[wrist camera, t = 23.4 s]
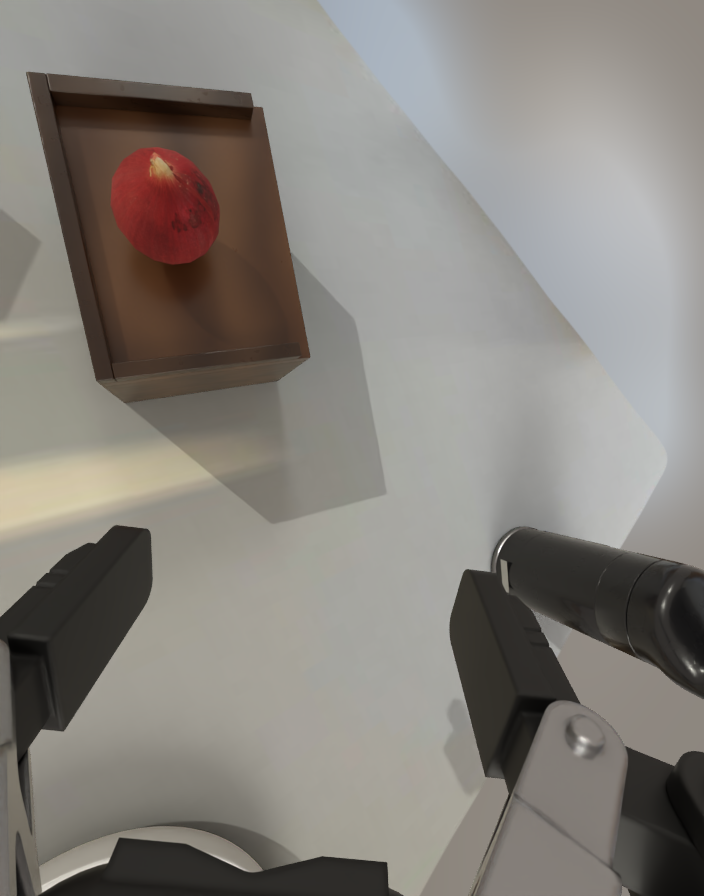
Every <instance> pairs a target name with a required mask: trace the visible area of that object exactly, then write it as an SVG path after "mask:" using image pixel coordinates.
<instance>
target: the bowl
mask: <svg viewBox="0 0 704 896" xmlns="http://www.w3.org/2000/svg"><path fill="white" fill-rule="evenodd" d="M119 837H120V838H131V839H142V840H152V841H163V842H174V843H185V844H188V845H190V846H192V847H194V848H197V849H199V850H201V851H203V852H205V853H207V854H210V855H212V856H214V857H216V858H218V859H220V860H222V861H225V862H227V863H229V864H231V865H233V866H235V867H237V868H240V869H242V870H244V871H247V872H260V871H263V869H262V868H261V867H260V866H259V865H258V863H257V862H256V861H255V860H254V859H253V858H252V857H250V856H249V855H248V854H247V853H246V852H245V851H243V850H242V849H241V848H239V847H238V846H236V845H235V844H233V843H231V842H230V841H228V840H226V839H224V838H222V837H220V836H217V835H215V834H212V833H209V832H206V831H202V830H198V829H193V828H186V827H176V826H155V827H144V828H137V829H132V830H126V831H122V832H118V833H114V834H110V835H107V836H104V837H101V838H98V839H95V840H92V841H90V842H87V843H85V844H82V845H80V846H77V847H75V848H73V849H71V850H69V851H67V852H65V853H63V854H60V855H59V856H57V857H55V858H53V859H51V860H49V861H47V862H46V863H44V864H42V865H41V866H39V871H40V879H41V887H42V892H44V891H46V890H47V889H49V888H51V887H52V886H54V885H55V884H57V883H59V882H61V881H63V880H65V879H67V878H69V877H71V876H73V875H75V874H77V873H79V872H81V871H84V870H87V869H90V868H92V867H95V866H98V865H101V864H106V863H108V862H109V860H110V858H111V855H112V853H113V850H114V848H115V846H116V843H117V841H118V839H119Z"/></svg>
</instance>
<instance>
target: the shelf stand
mask: <svg viewBox="0 0 704 896" xmlns="http://www.w3.org/2000/svg"><path fill="white" fill-rule="evenodd" d="M26 75H27V79H28V84H29V88H30V92H31V97H32V101H33V106H34V110H35V114H36V119H37V123H38V128H39V132H40V136H41V141H42V145H43V149H44V154H45V158H46V163H47V167H48V171H49V176H50V180H51V185H52V189H53V193H54V198H55V202H56V207H57V211H58V215H59V220H60V224H61V229H62V233H63V237H64V242H65V246H66V250H67V255H68V259H69V264H70V268H71V272H72V277H73V281H74V286H75V290H76V294H77V299H78V303H79V308H80V312H81V316H82V321H83V325H84V329H85V334H86V338H87V343H88V347H89V351H90V356H91V360H92V365H93V369H94V373H95V378H96V381H97V382H98V383H100V384H101V385H102V386H103V387H104V388H106V389H107V390H108V391H110V392H111V393H112V394H113V395H115V396H116V397H117V398H119V399H120V400H121V401H123V402H124V403H129V402H136V401H143V400H150V399H156V398H163V397H170V396H177V395H184V394H191V393H198V392H205V391H212V390H219V389H225V388H232V387H239V386H246V385H253V384H260V383H267V382H274V381H278V380H280V379H281V378H282V377H284V376H285V375H286V374H288V373H289V372H291V371H292V370H293V369H295V368H296V367H297V366H299V365H300V364H302V363H303V362H304V361H306V360H307V359H308V358H310V353H309V347H308V342H307V337H306V332H305V327H304V321H303V316H302V311H301V306H300V300H299V295H298V290H297V285H296V280H295V274H294V269H293V264H292V259H291V254H290V248H289V243H288V238H287V233H286V227H285V222H284V217H283V212H282V207H281V201H280V196H279V191H278V186H277V181H276V175H275V170H274V165H273V160H272V155H271V149H270V144H269V139H268V134H267V128H266V123H265V118H264V113H263V108H262V107H253V101H252V96H251V93H243V92H233V91H222V90H212V89H202V88H192V87H181V86H171V85H161V84H150V83H140V82H130V81H120V80H109V79H99V78H89V77H79V76H68V75H58V74H48V73H47V74H44V73H35V72H26ZM152 147H160V148H164V149H168V150H172V151H176V152H178V153H179V154H181V155H182V156H184V157H186V158H187V159H189V160H190V161H192V162H193V163H194V164H195V165H196V167H197V168H198V169H199V170H200V171H201V172H202V173H203V175H204V176H205V177H206V178H207V179H208V180H209V182H210V184H211V186H212V188H213V191H214V193H215V196H216V198H217V201H218V203H219V207H220V220H219V233H218V236H217V238H216V240H215V241H214V243H213V244H212V245H211V247H210V248H209V250H208V251H207V253H206V254H205V255H203V256H201V257H199V258H198V259H196V260H194V261H192V262H190V263H183V264H174V265H172V264H167V263H163V262H159V261H154V260H152V259H151V258H149V257H147V256H146V255H144V254H143V253H141V252H139V251H138V250H136V249H135V248H134V247H133V245H132V244H131V243H130V242H129V240H128V239H127V238H126V237H125V235H124V234H123V233H122V232H121V230H120V229H119V228H118V226H117V223H116V220H115V217H114V214H113V211H112V208H111V205H110V204H111V188H112V178H113V176H114V174H115V172H116V170H117V169H118V167H119V165H120V163H121V162H122V161H123V159H124V158H126V157H127V156H129V155H130V154H132V153H133V152H135V151H136V150H138V149H140V148H152Z"/></svg>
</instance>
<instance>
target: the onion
mask: <svg viewBox="0 0 704 896" xmlns="http://www.w3.org/2000/svg"><path fill="white" fill-rule="evenodd" d="M110 205H111V208H112V211H113V214H114V217H115V220H116V223H117V226H118V228H119V229H120V230H121V232H122V233H123V234H124V235H125V237H126V238H127V239H128V240H129V242H130V243H131V244H132V245H133V247H134V248H135V249H136V250H138V251H139V252H141V253H143V254H144V255H146V256H147V257H149V258H151V259H152V260H154V261H159V262H163V263H167V264H172V265H174V264H183V263H190V262H192V261H194V260H196V259H198V258H199V257H201V256H203V255H205V254H206V253H207V251H208V250H209V248H210V247H211V245H212V244H213V243H214V241H215V240H216V238H217V236H218V233H219V220H220V207H219V203H218V201H217V198H216V196H215V193H214V191H213V188H212V186H211V184H210V182H209V180H208V179H207V178H206V177H205V176H204V175H203V173H202V172H201V171H200V170H199V169H198V168H197V167H196V165H195V164H194V163H193V162H192V161H190V160H189V159H187V158H186V157H184V156H182V155H181V154H179V153H178V152H176V151H172V150H168V149H164V148H160V147H152V148H140V149H138V150H136V151H135V152H133V153H132V154H130V155H129V156H127V157H126V158H124V159H123V161H122V162H121V163H120V165H119V167H118V169H117V170H116V172H115V174H114V176H113V178H112V188H111V204H110Z"/></svg>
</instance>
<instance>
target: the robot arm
mask: <svg viewBox="0 0 704 896" xmlns="http://www.w3.org/2000/svg"><path fill="white" fill-rule="evenodd" d="M152 580H153V577H152V552H151V534H150V531H149V530H148V529H144V528H136V527H127V526H119V525H116V526H114V527H112V528H111V529H110V530H109V531H108V532H107V533H106V534H105V535H104V536H103V537H102V538H101V539H100V540H99V541H98V542H97V543H96V544H94V543H87V544H85V545H83V546H81V547H79V548H77V549H76V550H74V551H72V552H70V553H68V554H66V555H65V556H64V557H63V558H62V559H61V560H60V561H59V562H58V563H57V564H56V565H55V566H53V567H52V568H51V569H50V572H49V573H46V574H45V575H44V576H43V577H42V578H41V579H40V580H39V581H38V582H37V584H36V586H33V587H32V588H30V589H29V590H28V591H27V592H26V593H25V594H24V595H23V596H22V597H21V598H20V599H19V600H18V601H17V602H16V603H15V604H14V605H13V606H12V607H11V608H10V609H9V610H7V611H6V612H5V613H4V614H3V615H2V616H1V617H0V896H403V895H402V894H400V893H399V892H397V891H395V890H392V889H390V888H388V869H387V862H377V861H366V860H355V859H345V858H334V857H323V856H322V857H318V858H314V859H310V860H306V861H301V862H297V863H293V864H289V865H285V866H280V867H276V868H272V869H268V870H264V871H260V872H247V871H244V870H242V869H240V868H237V867H235V866H233V865H231V864H229V863H227V862H225V861H222V860H220V859H218V858H216V857H214V856H212V855H210V854H207V853H205V852H203V851H201V850H199V849H197V848H194V847H192V846H190V845H188V844H185V843H174V842H163V841H152V840H142V839H131V838H120V837H119V839H118V841H117V843H116V846H115V848H114V850H113V853H112V855H111V858H110V860H109V862H108V863H106V864H101V865H98V866H95V867H92V868H90V869H87V870H84V871H81V872H79V873H77V874H75V875H73V876H71V877H69V878H67V879H65V880H63V881H61V882H59V883H57V884H55V885H54V886H52V887H51V888H49V889H47V890H46V891H44V892H42V887H41V879H40V871H39V865H38V856H37V846H36V831H35V816H34V800H33V785H32V770H31V754H30V749H29V746H30V745H31V743H32V742H33V740H34V739H35V738H36V736H37V735H38V733H39V732H40V730H41V729H45V730H55V731H64V730H65V729H66V727H67V726H68V724H69V723H70V721H71V719H72V718H73V716H74V715H75V713H76V712H77V710H78V709H79V707H80V706H81V704H82V702H83V701H84V699H85V698H86V696H87V695H88V693H89V692H90V690H91V688H92V687H93V685H94V684H95V682H96V681H97V679H98V678H99V676H100V674H101V673H102V671H103V670H104V668H105V667H106V665H107V664H108V662H109V661H110V659H111V657H112V656H113V654H114V653H115V651H116V650H117V648H118V647H119V645H120V643H121V642H122V640H123V639H124V637H125V636H126V634H127V633H128V631H129V629H130V628H131V626H132V625H133V623H134V622H135V620H136V619H137V617H138V616H139V614H140V612H141V611H142V609H143V608H144V606H145V604H146V603H147V600H148V598H149V595H150V592H151V588H152ZM529 608H530V609H532V610H534V611H536V612H538V613H540V614H542V615H544V616H547V617H549V618H551V619H553V620H555V621H557V622H560V623H562V624H564V625H566V626H568V627H570V628H573V629H575V630H577V631H579V632H581V633H583V634H586V635H588V636H590V637H592V638H594V639H596V640H599V641H601V642H603V643H605V644H607V645H609V646H611V647H614V648H616V649H618V650H621V651H623V652H625V653H627V654H629V655H631V656H633V657H636V658H638V659H640V660H642V661H644V662H647V663H649V664H651V665H653V666H655V667H657V668H659V669H660V670H661V671H662V672H663V673H664V674H665V675H666V676H667V677H669V678H670V679H671V680H672V681H673V682H674V683H676V684H677V685H679V686H680V687H682V688H683V689H685V690H687V691H689V692H691V693H692V694H694V695H696V696H698V697H700V698H702V699H704V570H702V569H699V568H697V567H694V566H691V565H687V564H683V563H679V562H674V561H670V560H665V559H661V558H657V557H652V556H648V555H644V554H639V553H634V552H630V551H626V550H621V549H617V548H613V547H610V546H607V545H603V544H599V543H594V542H590V541H586V540H581V539H577V538H572V537H568V536H564V535H559V534H555V533H551V532H546V531H539V530H537V529H534V528H530V527H517V528H514V529H512V530H510V531H509V532H507V533H506V534H505V535H504V536H503V537H502V538H501V540H500V541H499V542H498V544H497V546H496V548H495V551H494V553H493V557H492V564H491V572H485V571H477V570H469V569H467V570H465V571H464V573H463V575H462V579H461V582H460V586H459V589H458V592H457V596H456V599H455V603H454V606H453V610H452V613H451V618H450V641H451V645H452V649H453V653H454V657H455V661H456V664H457V668H458V672H459V676H460V680H461V684H462V688H463V692H464V696H465V699H466V703H467V707H468V711H469V715H470V719H471V723H472V727H473V731H474V734H475V738H476V742H477V746H478V750H479V754H480V758H481V762H482V766H483V770H484V773H485V777H491V778H501V779H505V782H506V785H507V789H508V792H509V795H508V797H507V799H506V802H505V804H504V807H503V809H502V812H501V814H500V817H499V819H498V822H497V824H496V827H495V829H494V832H493V834H492V837H491V839H490V842H489V844H488V847H487V850H486V852H485V855H484V857H483V860H482V862H481V864H480V867H479V869H478V872H477V875H476V877H475V879H474V882H473V884H472V887H471V890H470V892H469V894H468V896H621V893H622V886H624V887H626V888H628V891H629V893H630V896H704V753H703V752H697V751H691V752H687V753H685V754H683V755H682V756H681V757H680V759H679V761H678V762H677V764H676V765H675V766H672V765H670V764H667V763H665V762H662V761H660V760H658V759H655V758H653V757H650V756H648V755H645V754H643V753H640V752H638V751H635V750H632V749H631V748H628V747H626V746H625V745H624V743H623V741H622V740H621V738H620V736H619V735H618V733H617V732H616V731H615V730H614V728H613V727H612V726H611V725H610V724H609V723H608V722H607V721H606V720H605V719H604V718H602V717H601V716H600V715H599V714H597V713H596V712H594V711H593V710H591V709H589V708H587V707H586V706H583V705H581V704H580V702H579V700H578V698H577V696H576V694H575V692H574V691H573V689H572V687H571V685H570V683H569V681H568V679H567V677H566V676H565V673H564V671H563V670H562V668H561V666H560V664H559V662H558V660H557V658H556V656H555V654H554V652H553V650H552V649H551V648H549V643H548V641H547V639H546V637H545V635H544V633H542V632H541V628H540V626H539V624H538V622H537V620H536V618H535V616H534V614H533V612H532V611H531V610H530V609H529Z"/></svg>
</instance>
